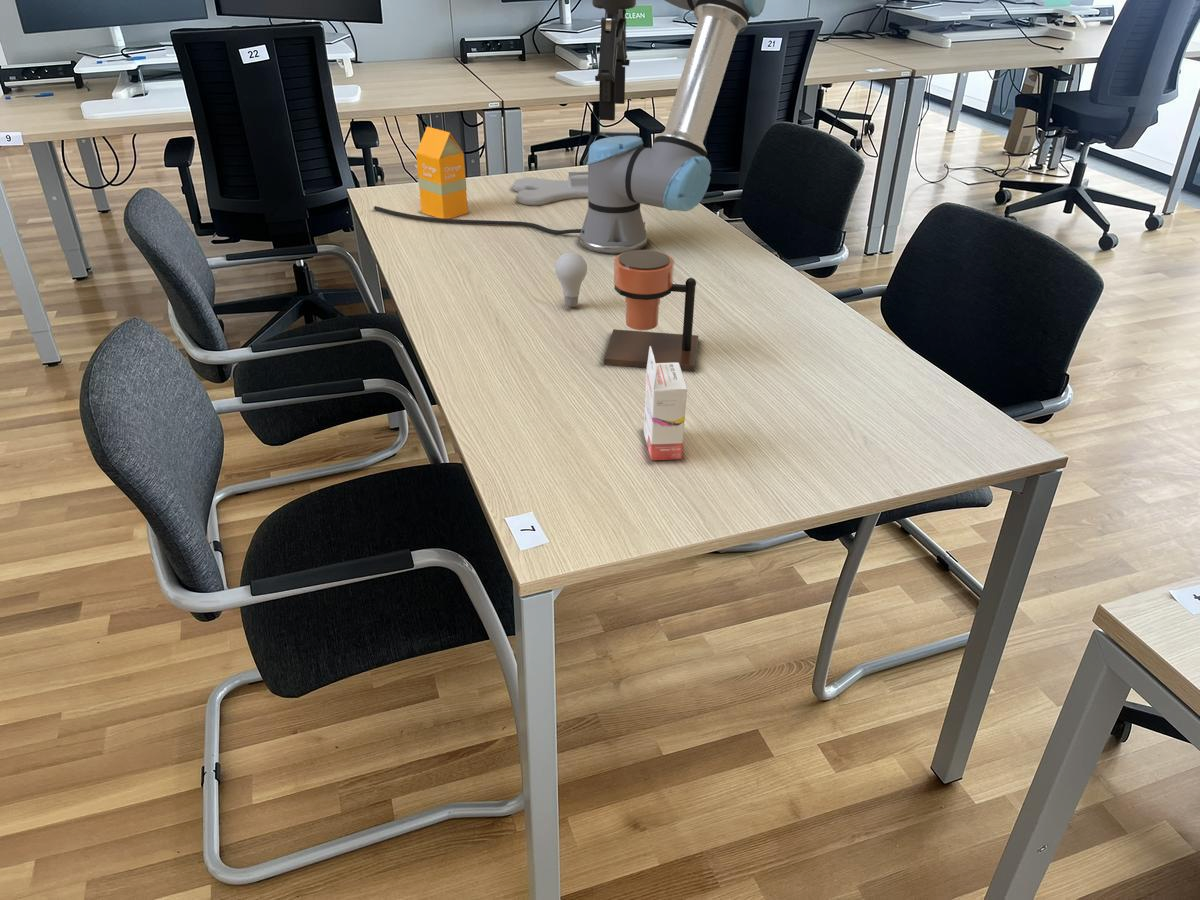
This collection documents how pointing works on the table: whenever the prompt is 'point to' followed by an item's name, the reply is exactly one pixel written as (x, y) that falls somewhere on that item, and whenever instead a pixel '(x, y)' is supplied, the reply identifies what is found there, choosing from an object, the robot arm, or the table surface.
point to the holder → (551, 189)
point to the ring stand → (688, 308)
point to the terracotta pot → (643, 284)
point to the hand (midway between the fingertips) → (612, 111)
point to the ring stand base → (636, 344)
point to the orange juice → (441, 175)
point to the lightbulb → (571, 276)
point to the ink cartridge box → (664, 409)
